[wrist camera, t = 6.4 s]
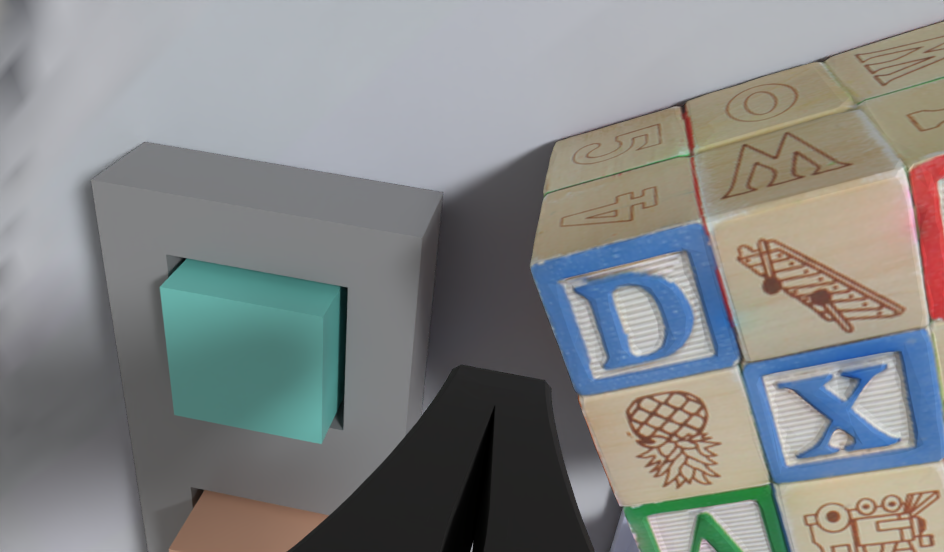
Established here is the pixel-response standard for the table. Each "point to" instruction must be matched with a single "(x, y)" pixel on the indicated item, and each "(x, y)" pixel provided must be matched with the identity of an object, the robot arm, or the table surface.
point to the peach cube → (242, 525)
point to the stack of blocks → (763, 306)
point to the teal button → (255, 349)
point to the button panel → (277, 252)
